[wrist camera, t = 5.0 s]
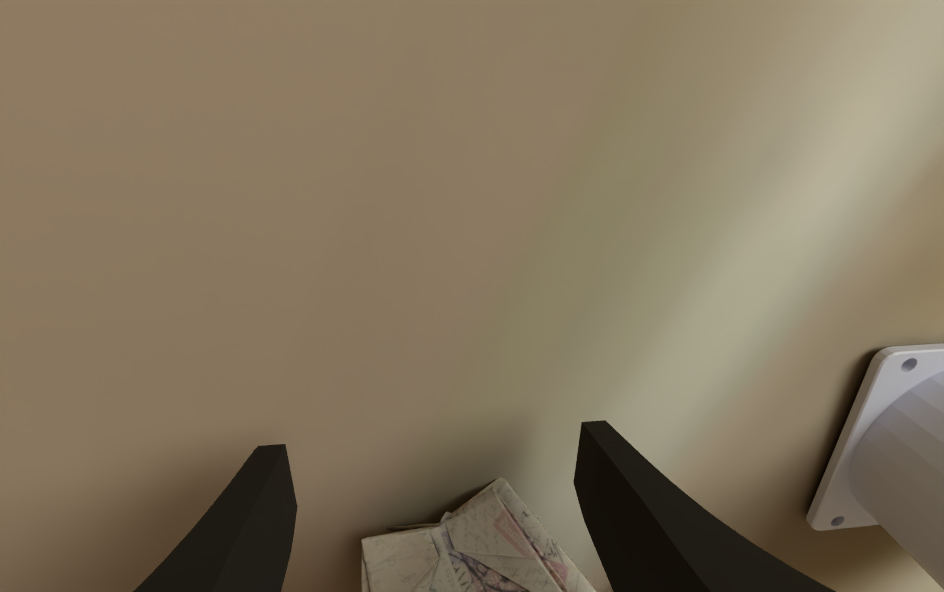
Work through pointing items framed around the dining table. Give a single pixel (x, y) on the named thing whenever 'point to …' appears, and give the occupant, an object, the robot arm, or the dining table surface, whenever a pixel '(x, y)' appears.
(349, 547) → the dining table surface
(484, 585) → the origami crane
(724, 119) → the dining table surface
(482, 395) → the dining table surface
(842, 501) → the robot arm
